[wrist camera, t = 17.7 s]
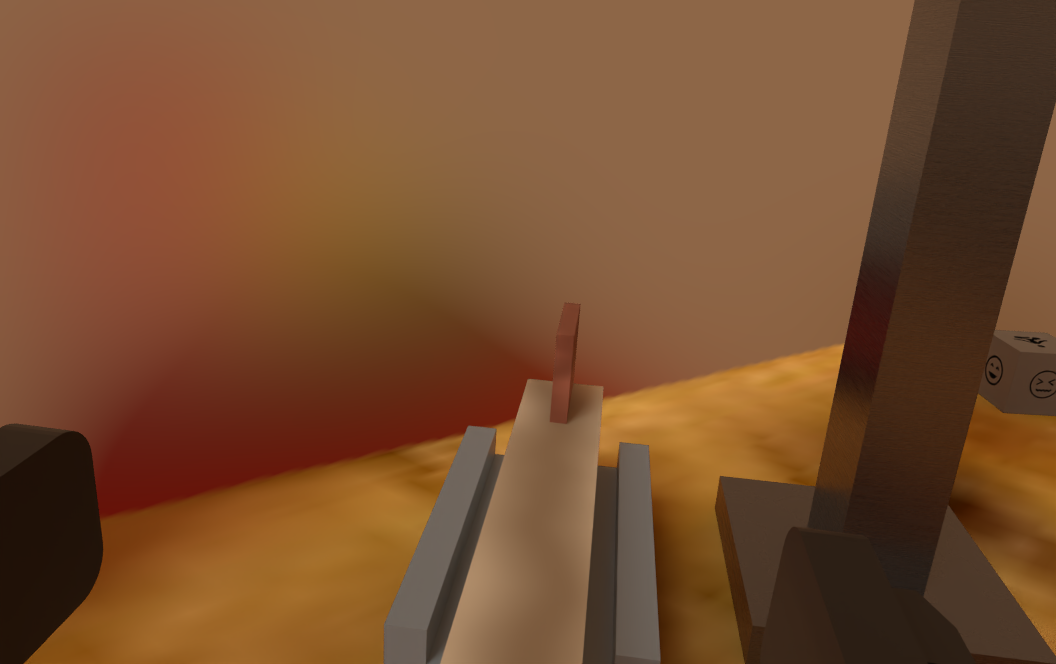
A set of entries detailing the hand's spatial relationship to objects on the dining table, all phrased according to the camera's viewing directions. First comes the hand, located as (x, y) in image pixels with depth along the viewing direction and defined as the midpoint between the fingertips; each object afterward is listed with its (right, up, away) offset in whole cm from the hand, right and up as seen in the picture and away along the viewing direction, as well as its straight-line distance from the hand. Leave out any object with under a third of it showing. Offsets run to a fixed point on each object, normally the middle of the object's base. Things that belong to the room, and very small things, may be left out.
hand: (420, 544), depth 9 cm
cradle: (+2, -10, +28) cm, 29 cm away
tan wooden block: (+1, -8, +23) cm, 25 cm away
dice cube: (+39, -3, +55) cm, 67 cm away
